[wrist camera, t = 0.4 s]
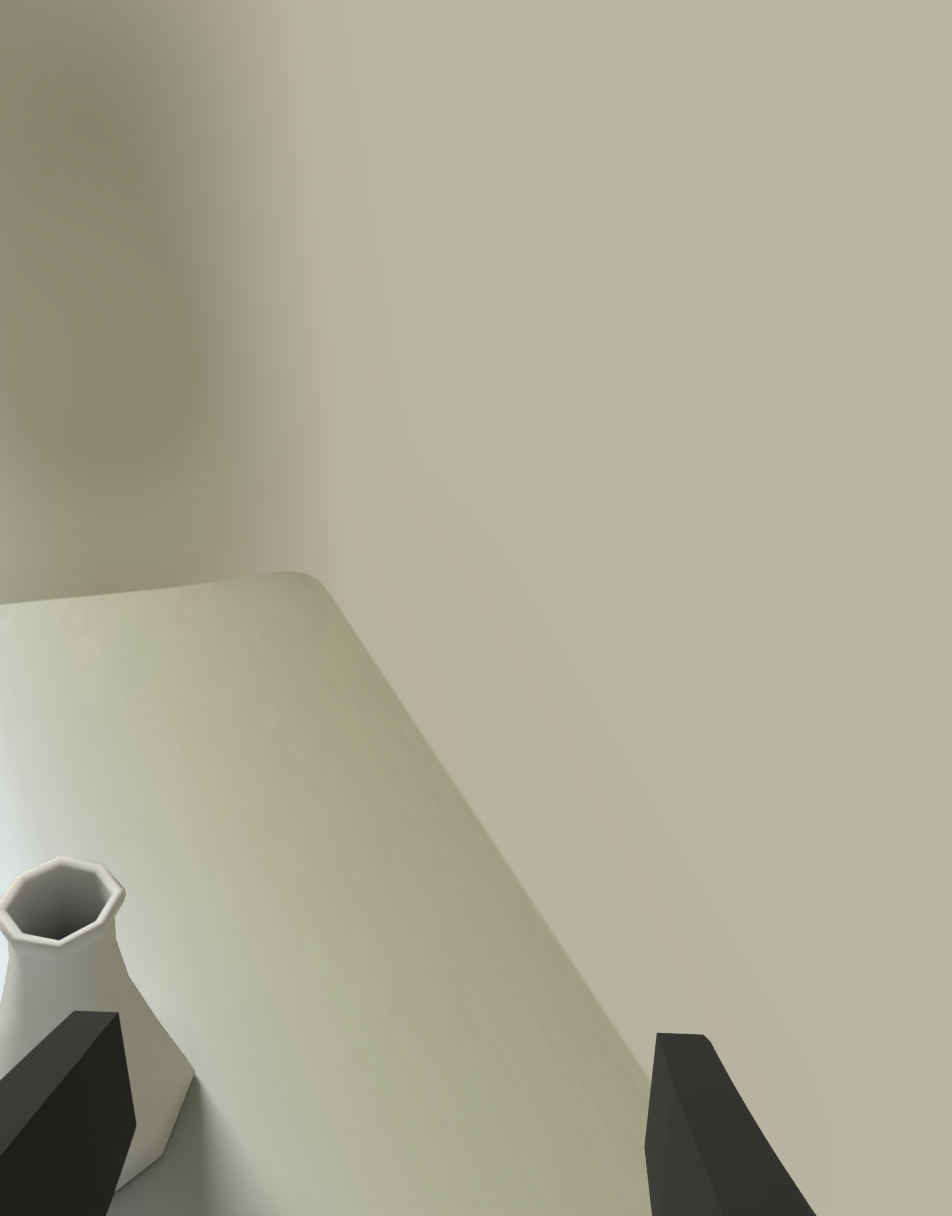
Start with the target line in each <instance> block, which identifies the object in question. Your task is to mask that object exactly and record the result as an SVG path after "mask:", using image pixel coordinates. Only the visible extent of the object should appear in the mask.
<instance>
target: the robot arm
mask: <svg viewBox="0 0 952 1216" xmlns="http://www.w3.org/2000/svg"><path fill="white" fill-rule="evenodd" d="M136 1127H137V1124H136V1117H135V1111H134V1105H133V1099H132V1092H131V1086H130V1080H129V1074H128V1067H127V1061H126V1055H125V1049H124V1042H123V1036H122V1030H121V1024H120V1017H119V1012H100V1011H73V1012H72V1013H71V1014H70V1015H69V1016H68V1017H67V1018H65V1019H64V1020H63V1021H62V1022H61V1023H60V1024H59V1025H58V1026H57V1027H56V1028H55V1029H54V1030H52V1031H51V1032H50V1033H49V1034H48V1035H47V1036H46V1037H45V1038H44V1039H43V1040H42V1041H41V1042H40V1043H39V1044H38V1045H36V1046H35V1047H34V1048H33V1049H32V1050H31V1051H30V1052H29V1053H28V1054H27V1055H26V1056H25V1057H24V1058H23V1059H22V1060H21V1061H20V1062H19V1063H18V1064H16V1065H15V1066H14V1067H13V1068H12V1069H11V1070H10V1071H9V1072H8V1073H7V1074H6V1075H5V1076H4V1077H3V1078H2V1079H1V1080H0V1216H106V1214H107V1211H108V1209H109V1206H110V1203H111V1200H112V1197H113V1195H114V1192H115V1189H116V1186H117V1183H118V1180H119V1178H120V1175H121V1172H122V1169H123V1166H124V1163H125V1160H126V1157H127V1154H128V1151H129V1148H130V1145H131V1142H132V1139H133V1136H134V1133H135V1130H136ZM645 1156H646V1165H647V1174H648V1183H649V1192H650V1201H651V1209H652V1216H816V1214H815V1213H814V1211H813V1210H812V1209H811V1207H810V1206H809V1204H808V1203H807V1201H806V1200H805V1198H804V1196H803V1195H802V1193H801V1192H800V1191H799V1189H798V1187H797V1186H796V1184H795V1183H794V1181H793V1180H792V1178H791V1177H790V1175H789V1174H788V1172H787V1171H786V1169H785V1168H784V1166H783V1165H782V1163H781V1162H780V1160H779V1159H778V1157H777V1156H776V1154H775V1152H774V1151H773V1149H772V1148H771V1146H770V1144H769V1143H768V1141H767V1140H766V1138H765V1136H764V1135H763V1133H762V1131H761V1130H760V1128H759V1126H758V1125H757V1123H756V1122H755V1120H754V1118H753V1117H752V1115H751V1113H750V1112H749V1110H748V1109H747V1107H746V1105H745V1103H744V1101H743V1100H742V1098H741V1096H740V1095H739V1093H738V1091H737V1089H736V1088H735V1086H734V1084H733V1082H732V1081H731V1079H730V1077H729V1075H728V1074H727V1072H726V1070H725V1068H724V1066H723V1064H722V1062H721V1061H720V1059H719V1057H718V1055H717V1053H716V1051H715V1050H714V1047H713V1046H712V1044H711V1042H710V1041H709V1040H708V1039H707V1038H706V1037H705V1036H704V1035H698V1034H697V1035H696V1034H673V1033H657V1037H656V1045H655V1056H654V1065H653V1073H652V1082H651V1092H650V1101H649V1110H648V1119H647V1129H646V1138H645Z"/></svg>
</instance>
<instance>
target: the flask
mask: <svg viewBox="0 0 952 1216" xmlns="http://www.w3.org/2000/svg"><path fill="white" fill-rule="evenodd" d="M125 896H126V893H125V889H124V888H123V887H122V885H121V884H120V883H119V882H118V881H117V880H116V878H115V877H114V876H113V875H112V874H111V872H110V871H109V870H108V869H107V868H106V867H105V865H104V864H102V863H97V862H92V861H87V860H82V859H77V858H72V857H67V856H62V855H61V856H59V857H56V858H54V859H52V860H50V861H48V862H46V863H43V864H41V865H39V866H37V867H35V868H33V869H31V870H28V871H26V872H24V873H22V874H20V875H18V876H16V878H15V879H14V880H13V882H12V883H11V884H10V886H9V887H8V889H7V890H6V891H5V893H4V894H3V895H2V897H1V898H0V930H1V931H2V933H3V934H4V936H5V937H6V939H7V940H8V949H9V962H8V968H7V973H6V979H5V984H4V990H3V995H2V1001H1V1003H0V1080H1V1079H2V1078H3V1077H4V1076H5V1075H6V1074H7V1073H8V1072H9V1071H10V1070H11V1069H12V1068H13V1067H14V1066H15V1065H16V1064H18V1063H19V1062H20V1061H21V1060H22V1059H23V1058H24V1057H25V1056H26V1055H27V1054H28V1053H29V1052H30V1051H31V1050H32V1049H33V1048H34V1047H35V1046H36V1045H38V1044H39V1043H40V1042H41V1041H42V1040H43V1039H44V1038H45V1037H46V1036H47V1035H48V1034H49V1033H50V1032H51V1031H52V1030H54V1029H55V1028H56V1027H57V1026H58V1025H59V1024H60V1023H61V1022H62V1021H63V1020H64V1019H65V1018H67V1017H68V1016H69V1015H70V1014H71V1013H72V1012H73V1011H100V1012H119V1017H120V1024H121V1030H122V1036H123V1042H124V1049H125V1055H126V1061H127V1067H128V1074H129V1080H130V1086H131V1092H132V1099H133V1105H134V1111H135V1117H136V1124H137V1127H136V1130H135V1133H134V1136H133V1139H132V1142H131V1145H130V1148H129V1151H128V1154H127V1157H126V1160H125V1163H124V1166H123V1169H122V1172H121V1175H120V1178H119V1180H118V1183H117V1186H116V1189H115V1192H116V1191H117V1190H118V1189H119V1188H121V1187H122V1186H123V1185H125V1184H126V1183H127V1182H128V1181H130V1180H131V1179H132V1178H134V1177H135V1176H136V1175H137V1174H139V1173H140V1172H141V1171H143V1170H144V1169H145V1168H146V1167H148V1166H149V1165H150V1164H152V1163H153V1162H154V1161H155V1160H157V1159H158V1158H159V1157H161V1156H162V1155H163V1152H164V1150H165V1147H166V1145H167V1142H168V1139H169V1137H170V1134H171V1132H172V1129H173V1127H174V1124H175V1122H176V1119H177V1117H178V1114H179V1111H180V1109H181V1106H182V1104H183V1101H184V1099H185V1096H186V1094H187V1091H188V1089H189V1086H190V1083H191V1081H192V1078H193V1076H194V1073H195V1070H194V1069H193V1067H192V1066H191V1064H190V1063H189V1061H188V1060H187V1058H186V1057H185V1056H184V1054H183V1053H182V1052H181V1050H180V1049H179V1048H178V1046H177V1045H176V1044H175V1042H174V1041H173V1040H172V1038H171V1037H170V1036H169V1034H168V1033H167V1032H166V1030H165V1029H164V1028H163V1026H162V1025H161V1024H160V1022H159V1021H158V1020H157V1018H156V1017H155V1015H154V1013H153V1012H152V1010H151V1009H150V1007H149V1006H148V1004H147V1003H146V1001H145V1000H144V998H143V997H142V995H141V994H140V992H139V991H138V989H137V988H136V986H135V985H134V983H133V982H132V980H131V979H130V977H129V976H128V973H127V970H126V967H125V964H124V961H123V958H122V955H121V952H120V949H119V947H118V944H117V941H116V932H115V915H116V914H117V912H118V910H119V909H120V907H121V905H122V903H123V902H124V899H125Z"/></svg>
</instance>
